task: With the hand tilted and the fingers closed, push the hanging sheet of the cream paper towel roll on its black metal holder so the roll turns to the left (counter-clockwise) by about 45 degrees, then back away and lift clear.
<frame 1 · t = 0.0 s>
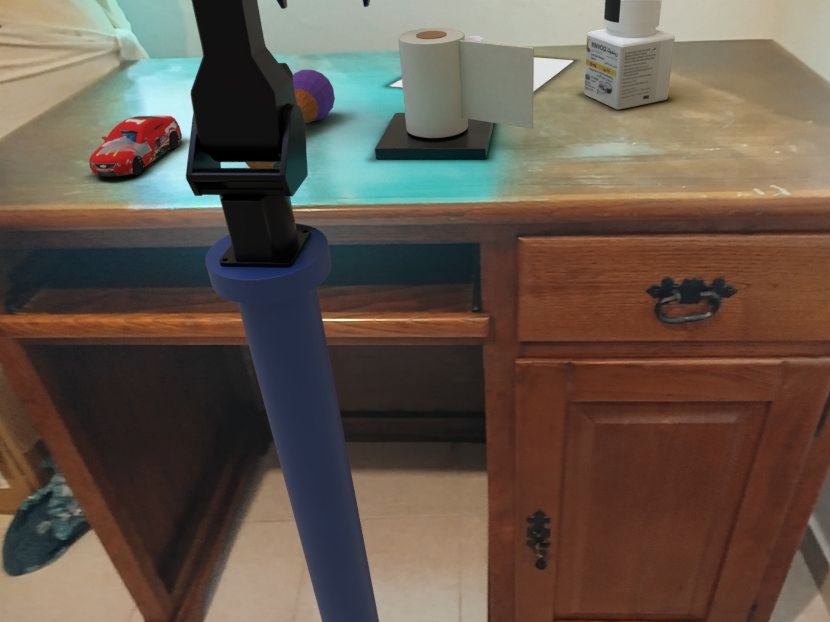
hand: (325, 7, 79), 14 cm above the table, tool pointing down, fingers open, 9 cm apart
race car: (141, 160, 82), on the table
holder: (438, 139, 83), on the table
towel roll: (467, 84, 78), point 6 cm above the table, hinge at 0.0°
container: (624, 99, 93), on the table
kendama: (294, 141, 85), on the table
teacup and saucer: (484, 74, 105), on the table
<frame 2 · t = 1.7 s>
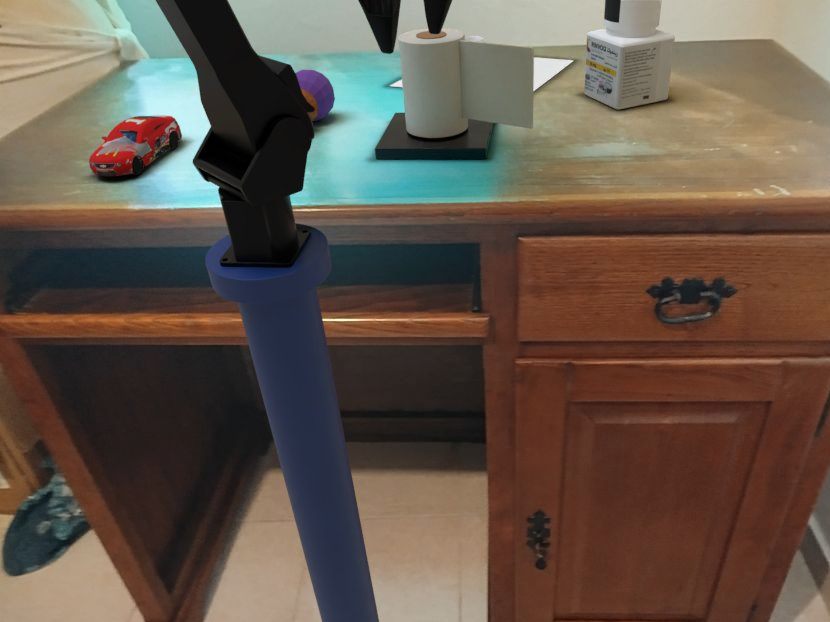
hand: (412, 43, 67), 13 cm above the table, tool pointing down, fingers open, 7 cm apart
nothing on the table moved.
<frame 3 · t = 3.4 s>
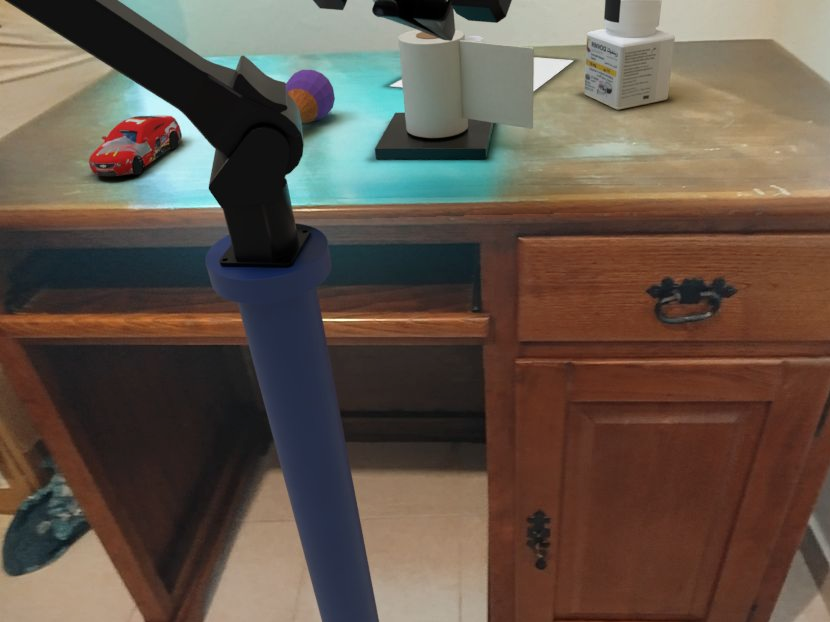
hand: (450, 35, 67), 13 cm above the table, tool tilted 45°, fingers closed
nothing on the table moved.
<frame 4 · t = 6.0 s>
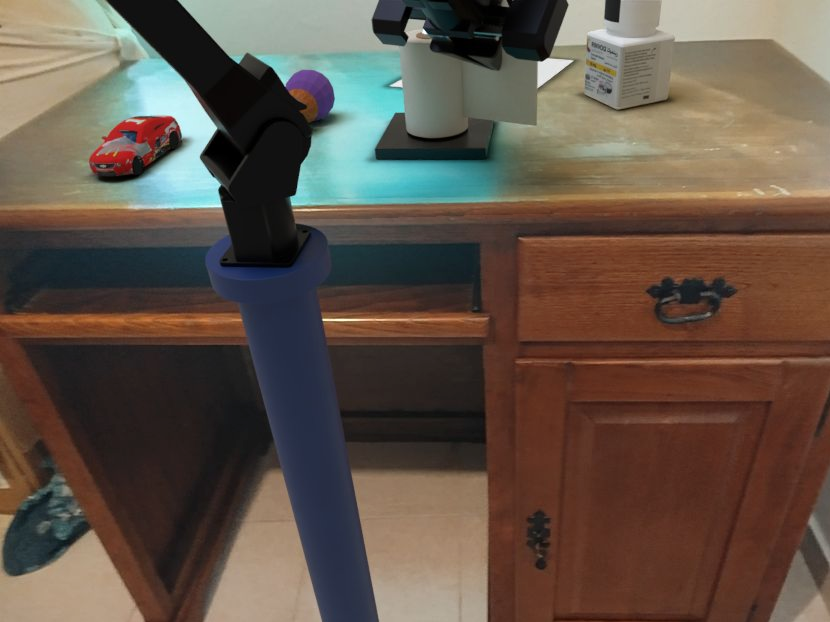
hand: (497, 66, 75), 9 cm above the table, tool tilted 45°, fingers closed, pressing on towel roll
towel roll: (468, 83, 79), point 6 cm above the table, hinge at 4.9°, touching gripper
everything else where it was.
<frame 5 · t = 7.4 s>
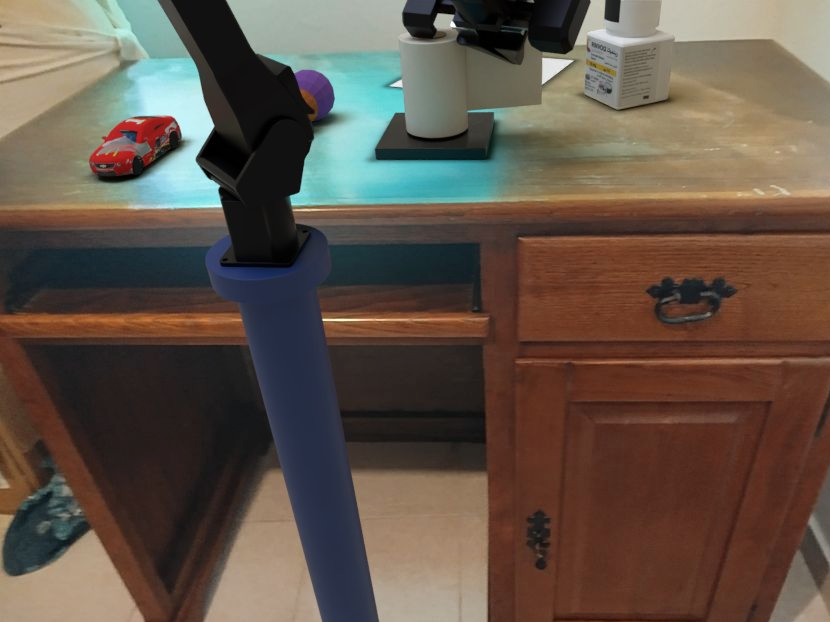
hand: (518, 60, 79), 8 cm above the table, tool tilted 45°, fingers closed, pressing on towel roll
towel roll: (467, 77, 80), point 6 cm above the table, hinge at 39.6°, touching gripper
everything else where it was.
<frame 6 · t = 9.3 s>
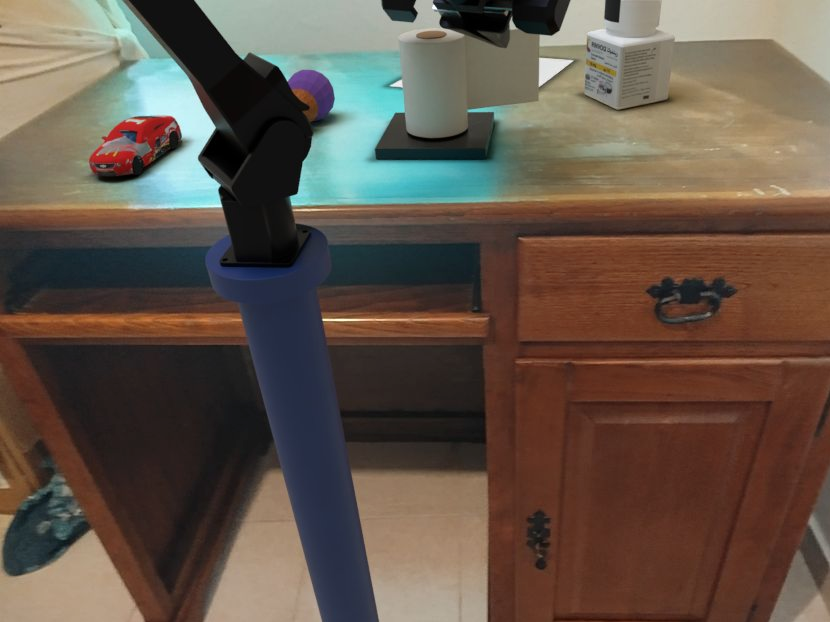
hand: (505, 43, 75), 10 cm above the table, tool tilted 45°, fingers closed
towel roll: (465, 76, 81), point 6 cm above the table, hinge at 45.6°
everything else where it was.
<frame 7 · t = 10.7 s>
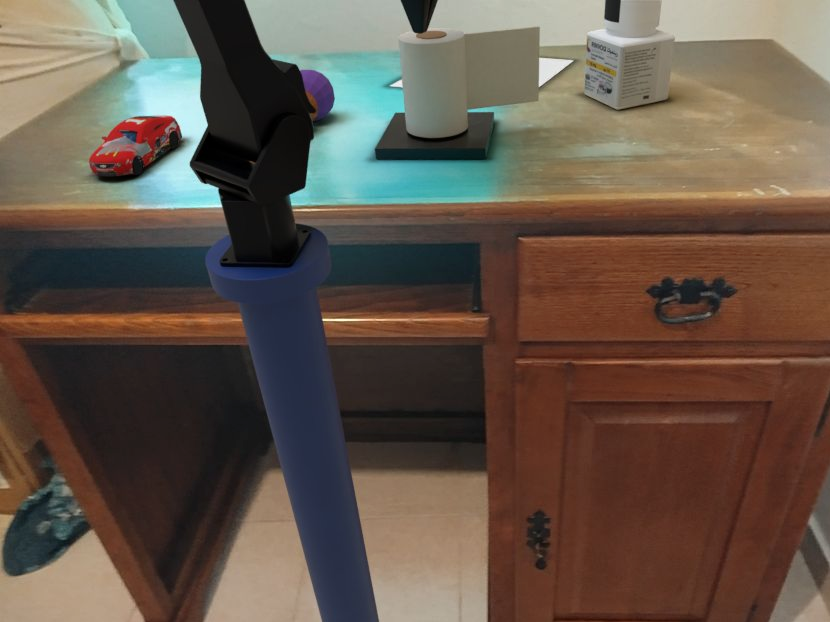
hand: (420, 32, 70), 13 cm above the table, tool pointing down, fingers closed
nothing on the table moved.
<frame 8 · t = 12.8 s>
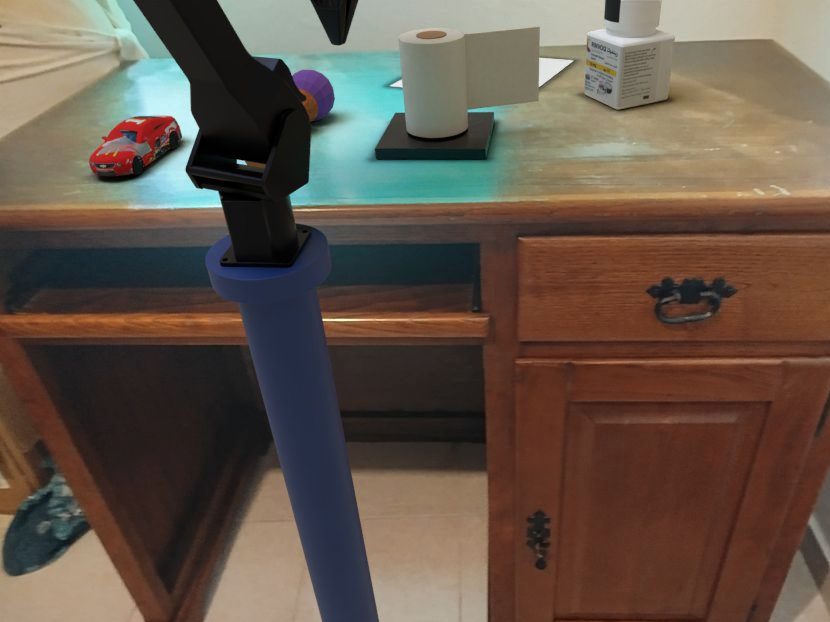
hand: (338, 44, 67), 13 cm above the table, tool pointing down, fingers closed
nothing on the table moved.
at the end: towel roll at +46° (first picture: +0°) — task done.
